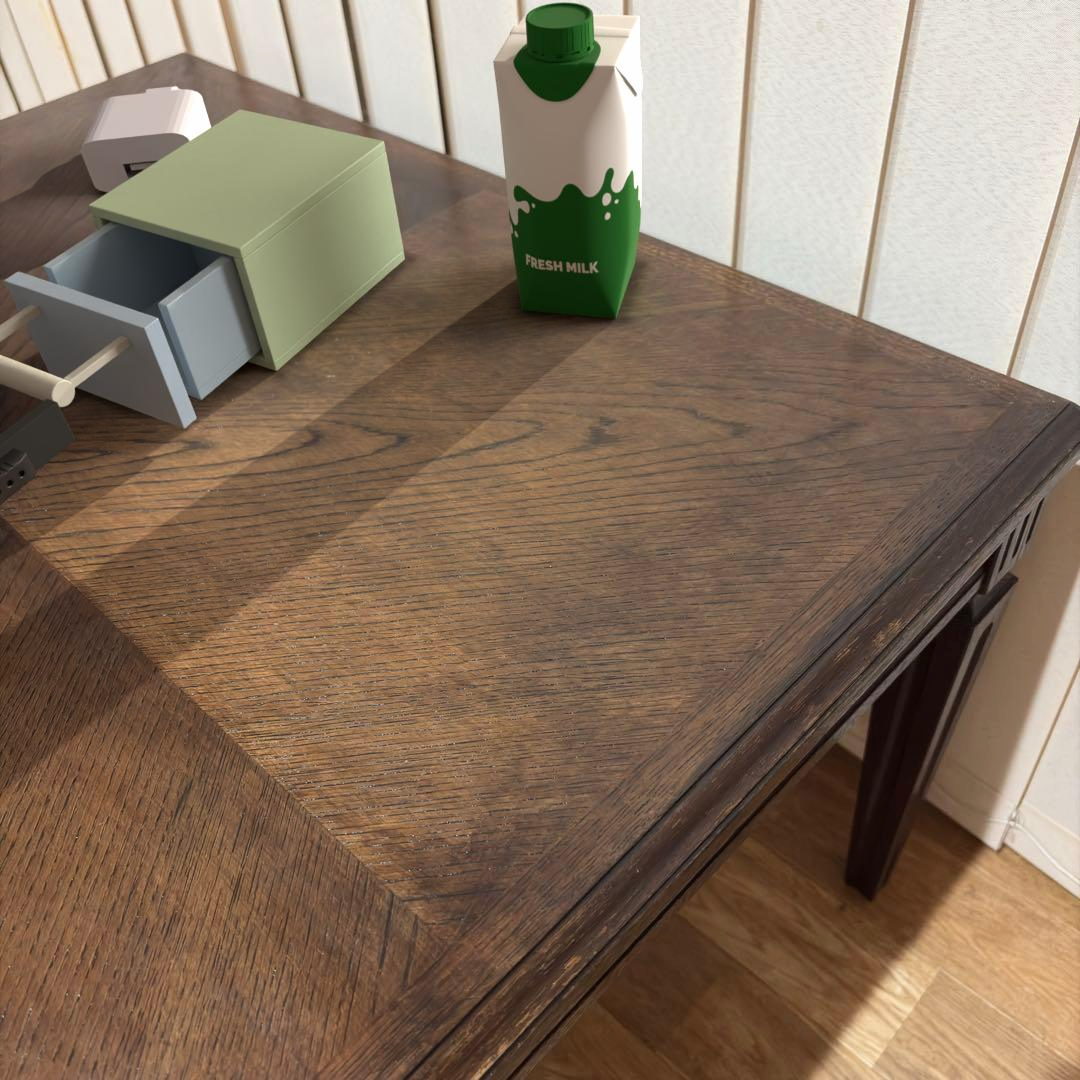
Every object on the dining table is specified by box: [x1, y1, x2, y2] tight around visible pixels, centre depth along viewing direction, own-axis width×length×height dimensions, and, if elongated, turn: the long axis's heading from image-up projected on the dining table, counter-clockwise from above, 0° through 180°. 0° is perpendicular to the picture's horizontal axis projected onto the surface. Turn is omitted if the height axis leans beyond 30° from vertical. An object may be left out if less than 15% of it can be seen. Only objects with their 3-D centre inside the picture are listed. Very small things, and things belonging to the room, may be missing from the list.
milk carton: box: [492, 2, 644, 320], centre depth 71 cm, size 9×9×20 cm
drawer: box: [0, 221, 262, 429], centre depth 70 cm, size 21×12×8 cm, turn 150°
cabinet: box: [88, 109, 406, 372], centre depth 77 cm, size 16×14×10 cm
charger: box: [80, 85, 212, 193], centre depth 97 cm, size 5×9×15 cm
